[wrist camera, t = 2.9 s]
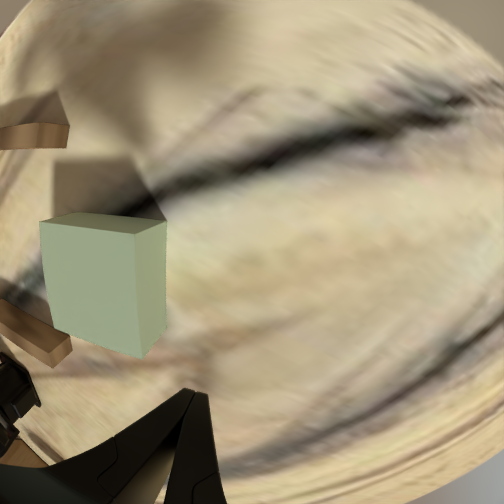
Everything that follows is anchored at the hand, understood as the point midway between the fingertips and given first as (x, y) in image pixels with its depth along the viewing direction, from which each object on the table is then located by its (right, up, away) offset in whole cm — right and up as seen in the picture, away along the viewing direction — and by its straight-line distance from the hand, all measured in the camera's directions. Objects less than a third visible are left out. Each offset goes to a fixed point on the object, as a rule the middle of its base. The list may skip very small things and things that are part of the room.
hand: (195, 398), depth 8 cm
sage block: (-7, +4, +9) cm, 12 cm away
